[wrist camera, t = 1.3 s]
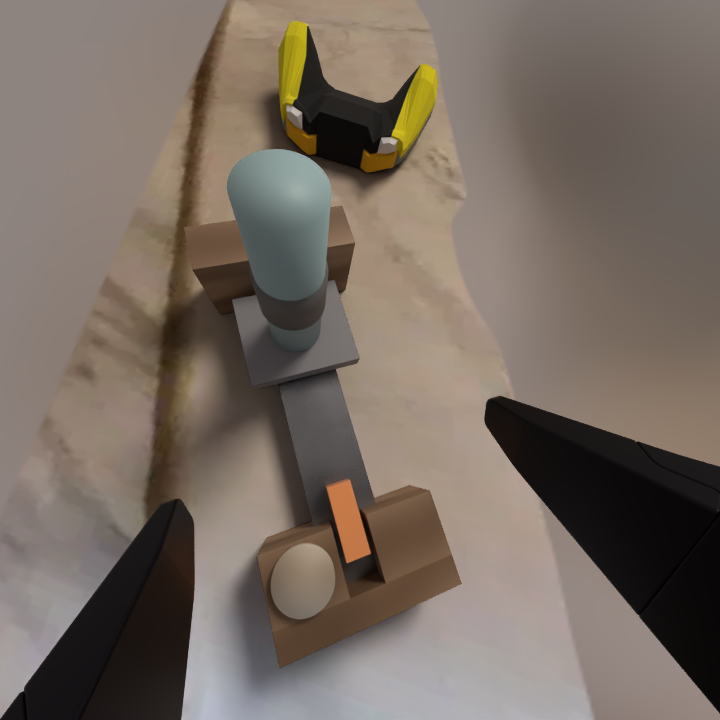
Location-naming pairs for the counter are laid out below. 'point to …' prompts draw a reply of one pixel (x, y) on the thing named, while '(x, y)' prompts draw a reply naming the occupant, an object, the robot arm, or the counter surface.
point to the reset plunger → (348, 520)
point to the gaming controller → (348, 110)
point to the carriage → (287, 270)
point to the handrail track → (327, 454)
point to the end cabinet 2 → (365, 595)
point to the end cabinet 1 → (231, 265)
